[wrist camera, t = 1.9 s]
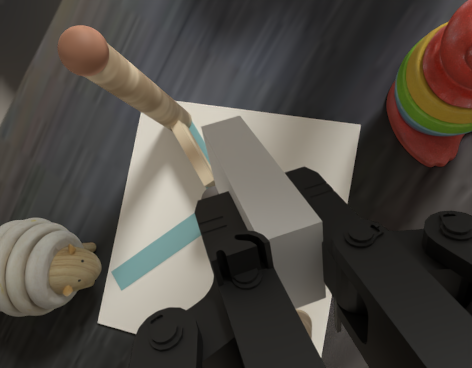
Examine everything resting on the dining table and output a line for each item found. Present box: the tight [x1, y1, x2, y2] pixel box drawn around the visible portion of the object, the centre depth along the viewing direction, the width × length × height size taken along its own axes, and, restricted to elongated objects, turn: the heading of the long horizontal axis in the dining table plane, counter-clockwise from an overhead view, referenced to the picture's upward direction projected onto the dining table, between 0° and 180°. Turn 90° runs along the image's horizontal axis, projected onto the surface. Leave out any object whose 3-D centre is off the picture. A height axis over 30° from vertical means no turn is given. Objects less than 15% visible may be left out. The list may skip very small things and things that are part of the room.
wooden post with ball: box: [58, 25, 219, 199], centre depth 34 cm, size 15×3×21 cm, turn 32°
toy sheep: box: [0, 218, 101, 317], centre depth 42 cm, size 11×17×11 cm, turn 91°
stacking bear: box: [387, 0, 472, 167], centre depth 31 cm, size 11×10×18 cm
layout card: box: [98, 101, 361, 357], centre depth 43 cm, size 28×26×1 cm
